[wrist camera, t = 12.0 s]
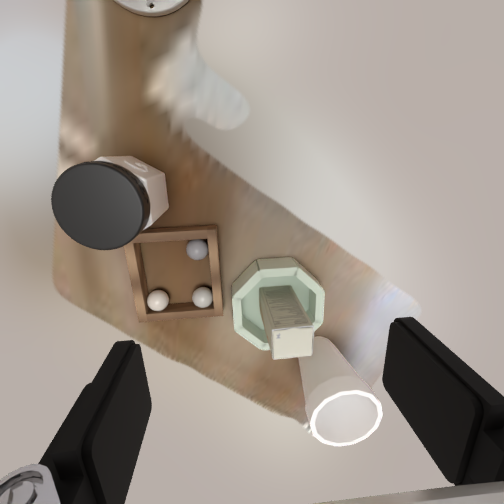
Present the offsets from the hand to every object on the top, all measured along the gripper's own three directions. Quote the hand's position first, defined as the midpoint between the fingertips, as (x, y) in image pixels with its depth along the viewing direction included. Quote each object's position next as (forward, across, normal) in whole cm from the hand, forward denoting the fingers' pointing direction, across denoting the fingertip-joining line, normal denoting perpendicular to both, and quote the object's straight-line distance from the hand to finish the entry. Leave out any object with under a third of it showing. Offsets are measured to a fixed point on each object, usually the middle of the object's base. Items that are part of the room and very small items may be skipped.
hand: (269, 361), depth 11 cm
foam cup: (+31, -12, +25) cm, 41 cm away
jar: (+31, +13, -3) cm, 33 cm away
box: (+30, -5, +14) cm, 33 cm away
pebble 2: (+30, +6, +5) cm, 31 cm away
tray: (+30, +9, +8) cm, 33 cm away
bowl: (+30, -5, +14) cm, 34 cm away
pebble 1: (+29, +12, +14) cm, 34 cm away
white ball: (+30, +6, +12) cm, 33 cm away
